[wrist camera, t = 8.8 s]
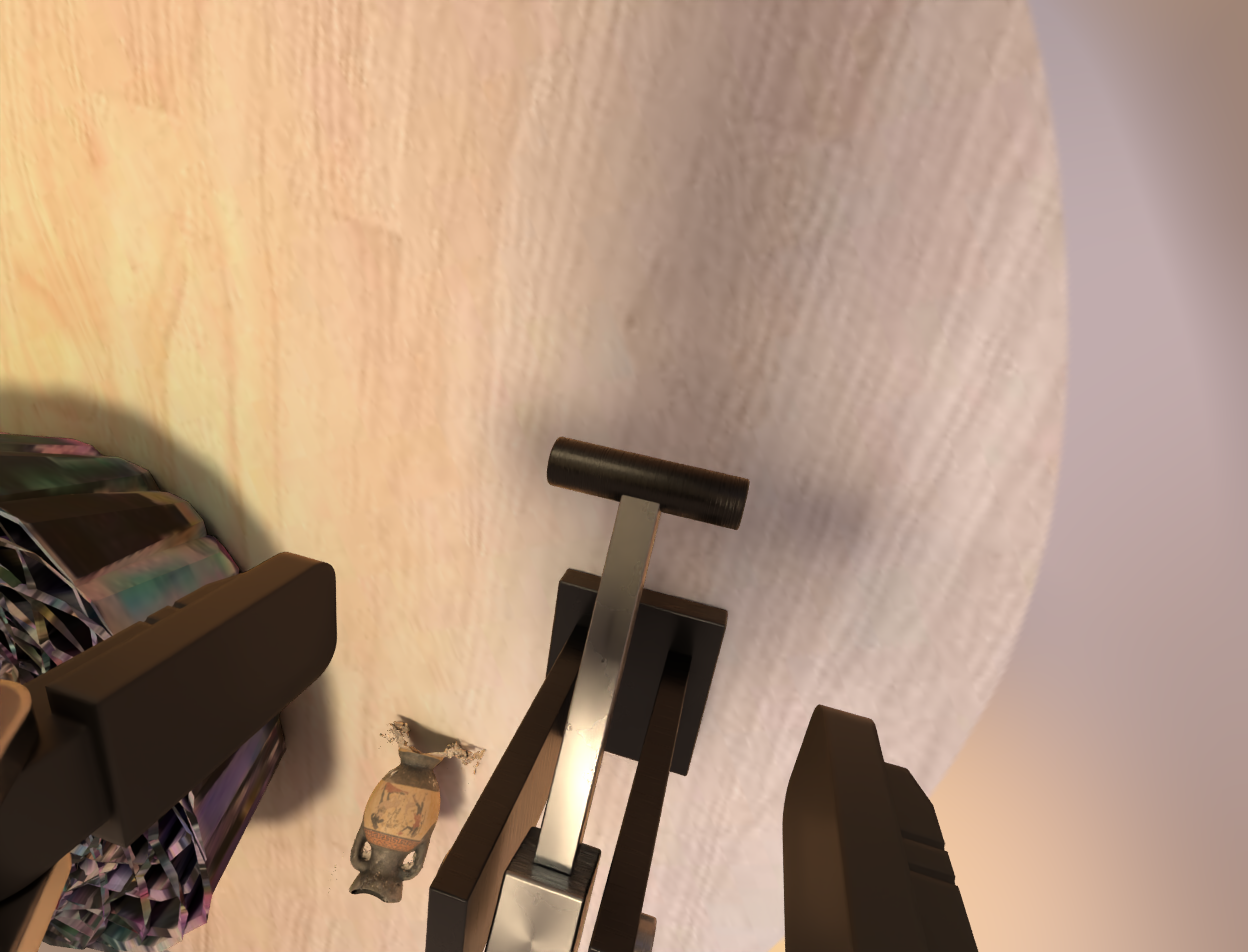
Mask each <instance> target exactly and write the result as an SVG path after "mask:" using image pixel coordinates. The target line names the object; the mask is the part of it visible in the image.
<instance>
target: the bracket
mask: <svg viewBox="0 0 1248 952" xmlns="http://www.w3.org/2000/svg"><path fill="white" fill-rule="evenodd" d="M601 578H602V577H598V576H594V575H591V574H587V573H583V572H579V571H575V570H572V569H568V570H567V571H566V572H565V574H564V575H563V577H562V578H561V580H560V581H559V586H558V593H557V601H556V608H555V615H554V622H553V629H552V636H551V643H550V650H549V658H548V665H547V672H546V679H545V681H544V683H543V685H542V686H541V688H540V690H539V692H538V694H537V695H536V697H535V699H534V701H533V703H532V704H531V706H530V708H529V710H528V712H527V713H526V715H525V717H524V719H523V720H522V722H521V724H520V726H519V728H518V729H517V731H516V733H515V735H514V737H513V738H512V740H511V742H510V744H509V746H508V747H507V749H506V751H505V753H504V755H503V756H502V758H501V760H500V762H499V764H498V765H497V767H496V769H495V771H494V773H493V774H492V776H491V778H490V780H489V782H488V783H487V785H486V787H485V789H484V790H483V792H482V794H481V796H480V798H479V799H478V801H477V803H476V805H475V807H474V808H473V810H472V812H471V814H470V816H469V817H468V819H467V821H466V823H465V825H464V826H463V828H462V830H461V832H460V834H459V835H458V837H457V839H456V841H455V843H454V844H453V846H452V848H451V849H450V850H449V851H448V853H447V854H446V856H445V858H444V859H443V861H442V863H441V866H440V868H439V870H438V873H437V875H436V877H435V878H434V880H433V882H432V884H431V886H430V888H429V902H428V918H427V933H426V949H425V952H483V950H484V947H485V945H486V943H487V939H488V935H489V931H490V927H491V923H492V919H493V915H494V911H495V907H496V903H497V899H498V895H499V891H500V887H501V882H502V878H503V874H504V872H505V870H506V868H507V867H508V865H509V863H510V861H511V860H512V858H513V856H514V855H515V853H516V851H517V850H518V848H519V846H520V845H521V843H522V841H523V840H524V838H525V836H526V835H527V833H528V831H529V830H530V828H531V827H536V825H537V822H538V820H539V818H540V815H541V813H542V811H543V808H544V806H545V804H546V801H547V799H548V796H549V791H550V787H551V783H552V779H553V775H554V771H555V767H556V763H557V759H558V754H559V750H560V746H561V742H562V738H563V734H564V730H565V726H566V722H567V717H568V713H569V709H570V705H571V701H572V697H573V693H574V689H575V685H576V680H577V676H578V672H579V668H580V664H581V660H582V656H583V652H584V648H585V643H586V639H587V635H588V631H589V627H590V623H591V619H592V615H593V611H594V606H595V602H596V598H597V594H598V590H599V586H600V582H601ZM727 615H728V612H727V611H726V610H723V609H719V608H715V607H711V606H707V605H704V604H700V603H696V602H692V601H689V600H685V599H681V598H677V597H673V596H670V595H666V594H662V593H658V592H655V591H651V590H647V589H643V591H642V595H641V599H640V603H639V607H638V612H637V616H636V620H635V624H634V628H633V632H632V637H631V641H630V645H629V649H628V653H627V658H626V662H625V666H624V670H623V674H622V678H621V683H620V687H619V691H618V695H617V699H616V704H615V708H614V712H613V716H612V720H611V724H610V729H609V733H608V737H607V741H606V745H605V749H604V751H607V752H610V753H613V754H616V755H619V756H623V757H626V758H629V759H632V760H635V761H638V766H637V770H636V773H635V777H634V781H633V784H632V788H631V792H630V796H629V799H628V803H627V807H626V811H625V814H624V818H623V822H622V826H621V829H620V833H619V837H618V841H617V844H616V848H615V852H614V855H613V859H612V863H611V867H610V870H609V874H608V878H607V882H606V885H605V889H604V893H603V897H602V900H601V904H600V908H599V911H598V915H597V919H596V923H595V926H594V930H593V934H592V938H591V941H590V945H589V949H588V952H652V947H653V941H654V936H655V930H656V923H657V921H656V918H655V917H653V916H650V915H648V914H645V913H642V907H643V902H644V897H645V892H646V887H647V882H648V877H649V872H650V867H651V862H652V857H653V851H654V846H655V841H656V836H657V831H658V826H659V821H660V816H661V811H662V806H663V801H664V796H665V791H666V786H667V781H668V776H669V771H670V772H673V773H677V774H680V775H683V776H686V775H687V774H688V770H689V766H690V762H691V758H692V755H693V751H694V747H695V743H696V739H697V736H698V732H699V728H700V724H701V720H702V717H703V713H704V709H705V705H706V701H707V698H708V694H709V690H710V686H711V682H712V679H713V675H714V671H715V667H716V663H717V660H718V656H719V652H720V648H721V644H722V641H723V637H724V633H725V629H726V624H727Z"/></svg>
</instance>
